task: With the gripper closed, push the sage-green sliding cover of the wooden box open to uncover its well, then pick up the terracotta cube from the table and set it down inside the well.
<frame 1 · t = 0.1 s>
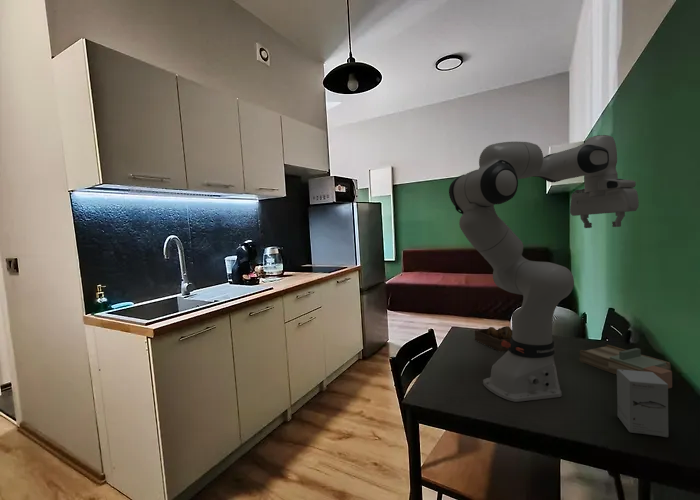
hand: (601, 227, 110), 48 cm above the table, fingers open, 8 cm apart
cover: (636, 357, 106), point 5 cm above the table, slide at 0.0 cm
cube: (657, 386, 98), on the table
supplement box: (641, 427, 79), on the table
lion stand: (494, 344, 140), on the table
lion figurine: (498, 345, 139), resting in lion stand
wooden box: (622, 367, 111), on the table
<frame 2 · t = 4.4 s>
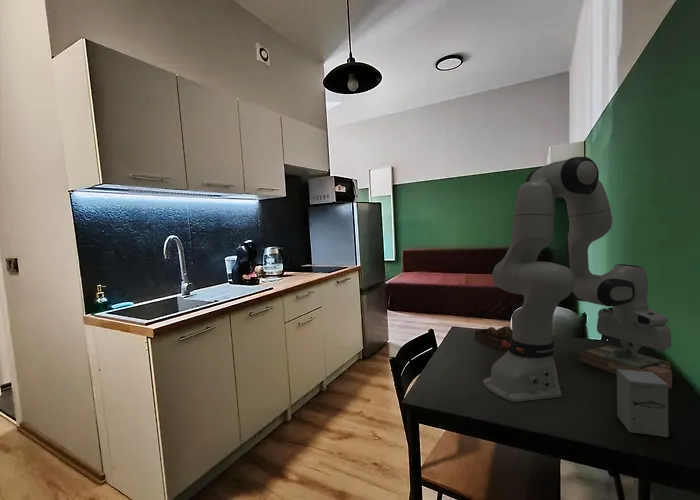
hand: (631, 354, 108), 5 cm above the table, fingers closed
cover: (631, 355, 108), point 5 cm above the table, slide at 1.7 cm, touching gripper
everything else where it was.
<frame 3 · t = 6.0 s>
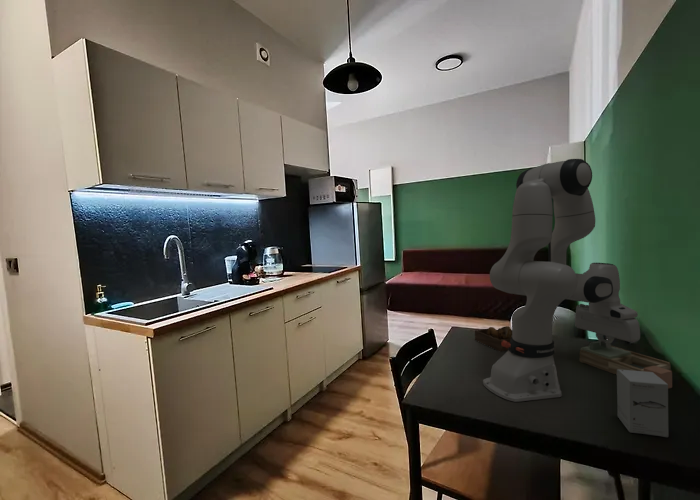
hand: (605, 346, 116), 5 cm above the table, fingers closed
cover: (605, 347, 116), point 5 cm above the table, slide at 10.0 cm, touching gripper
everything else where it was.
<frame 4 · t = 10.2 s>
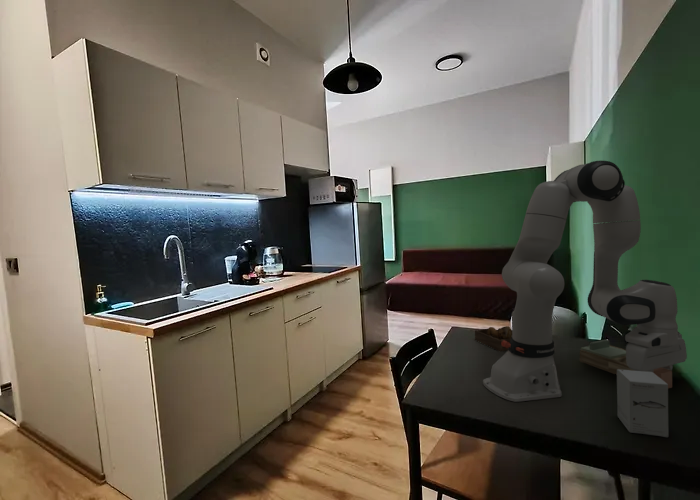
hand: (657, 380, 97), 2 cm above the table, fingers closed on cube, 4 cm apart
cover: (605, 347, 116), point 5 cm above the table, slide at 10.0 cm
cube: (657, 385, 98), on the table, touching gripper
everything else where it was.
when the fingers open (4 cm above the table, at t = 14.1 s): cube drops 2 cm, resting on wooden box.
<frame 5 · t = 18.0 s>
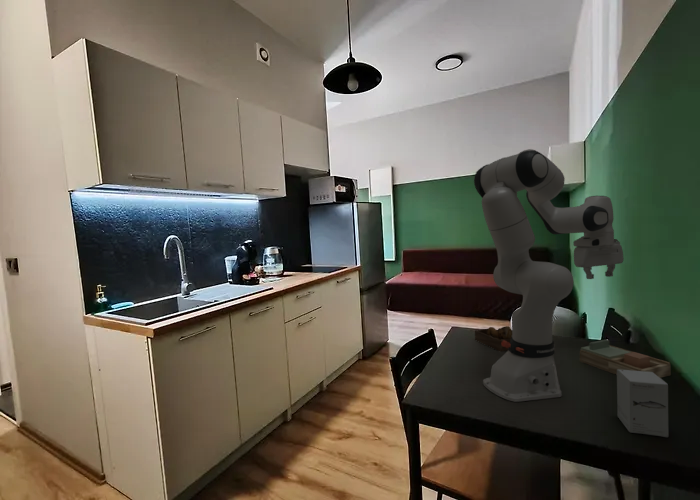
hand: (599, 277, 121), 29 cm above the table, fingers open, 8 cm apart
cube: (637, 370, 106), point 1 cm above the table, touching wooden box
everything else where it was.
at the end: cover slide at 10.0 cm; cube 0.1 cm from the target spot on the wooden box, point 0.9 cm above the wooden box's base; cube tilted 0° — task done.
